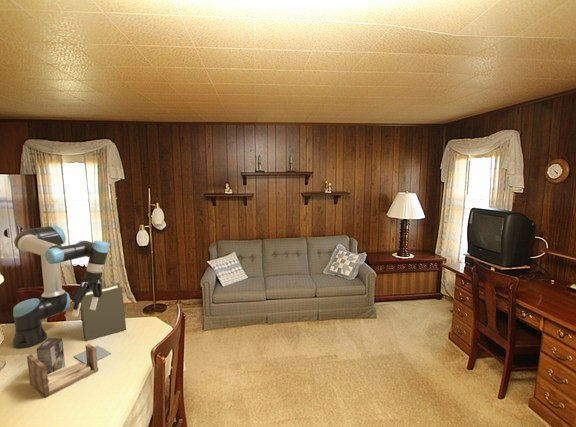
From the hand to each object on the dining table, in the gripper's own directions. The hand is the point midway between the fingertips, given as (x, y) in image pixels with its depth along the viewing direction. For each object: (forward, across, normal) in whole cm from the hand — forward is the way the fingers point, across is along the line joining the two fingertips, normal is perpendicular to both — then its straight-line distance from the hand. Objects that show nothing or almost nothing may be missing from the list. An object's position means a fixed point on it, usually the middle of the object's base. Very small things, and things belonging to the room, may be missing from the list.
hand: (83, 312), depth 159 cm
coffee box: (+29, -6, +3) cm, 30 cm away
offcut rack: (+28, -9, -4) cm, 29 cm away
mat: (+24, +9, -5) cm, 26 cm away
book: (+21, +32, +3) cm, 38 cm away
